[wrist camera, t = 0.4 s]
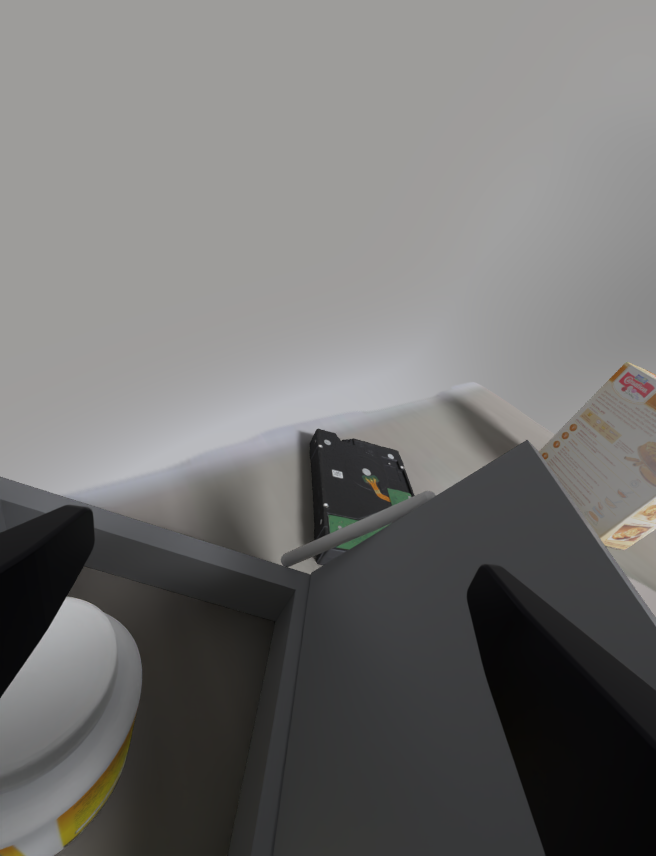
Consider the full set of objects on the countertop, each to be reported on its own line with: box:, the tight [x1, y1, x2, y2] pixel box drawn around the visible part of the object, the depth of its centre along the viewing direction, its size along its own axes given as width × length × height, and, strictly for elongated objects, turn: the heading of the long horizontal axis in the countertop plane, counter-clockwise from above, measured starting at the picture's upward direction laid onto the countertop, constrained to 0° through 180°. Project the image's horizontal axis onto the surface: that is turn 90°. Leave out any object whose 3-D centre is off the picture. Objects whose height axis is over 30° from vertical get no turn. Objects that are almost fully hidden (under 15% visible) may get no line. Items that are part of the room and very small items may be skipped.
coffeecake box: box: [539, 362, 656, 550], centre depth 46 cm, size 15×7×20 cm, turn 8°
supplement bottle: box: [0, 597, 142, 856], centre depth 11 cm, size 6×6×10 cm
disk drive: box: [310, 429, 415, 565], centre depth 33 cm, size 10×3×15 cm
